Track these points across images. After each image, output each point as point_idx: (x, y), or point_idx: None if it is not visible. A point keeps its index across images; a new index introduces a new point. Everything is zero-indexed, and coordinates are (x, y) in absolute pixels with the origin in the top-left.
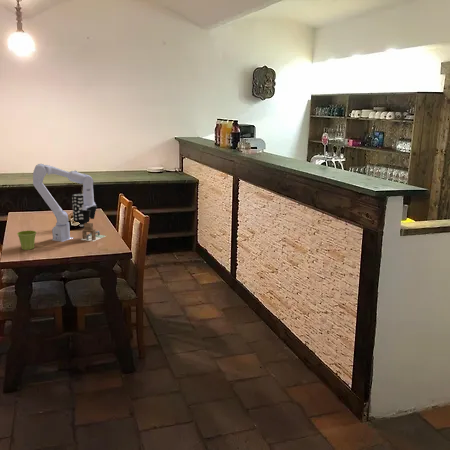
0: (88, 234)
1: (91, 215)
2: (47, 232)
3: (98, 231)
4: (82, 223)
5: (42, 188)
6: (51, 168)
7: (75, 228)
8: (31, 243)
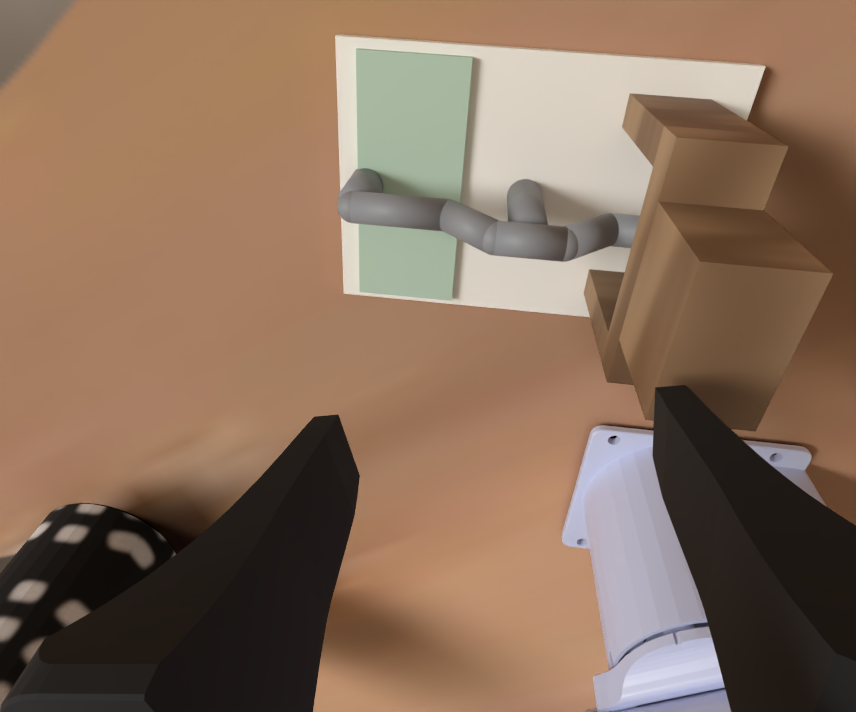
0: None
1: (329, 518)
2: (438, 667)
3: (380, 196)
4: (111, 560)
5: None
6: None
7: None
8: None
